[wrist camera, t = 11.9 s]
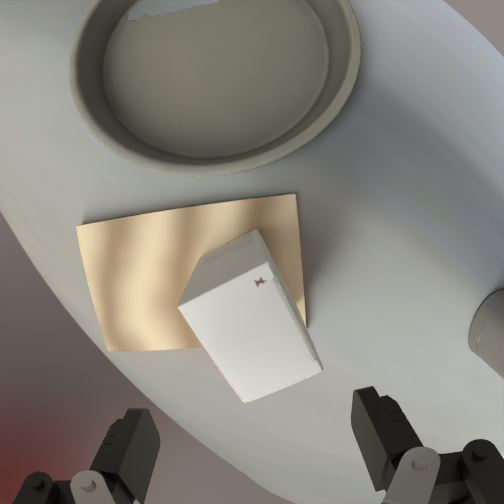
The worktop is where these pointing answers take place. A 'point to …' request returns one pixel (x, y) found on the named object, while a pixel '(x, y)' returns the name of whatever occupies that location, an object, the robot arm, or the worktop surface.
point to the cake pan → (213, 80)
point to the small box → (248, 319)
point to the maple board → (176, 264)
